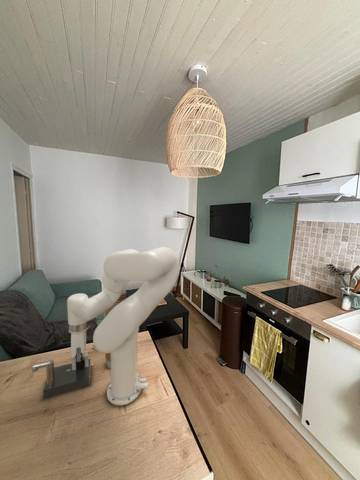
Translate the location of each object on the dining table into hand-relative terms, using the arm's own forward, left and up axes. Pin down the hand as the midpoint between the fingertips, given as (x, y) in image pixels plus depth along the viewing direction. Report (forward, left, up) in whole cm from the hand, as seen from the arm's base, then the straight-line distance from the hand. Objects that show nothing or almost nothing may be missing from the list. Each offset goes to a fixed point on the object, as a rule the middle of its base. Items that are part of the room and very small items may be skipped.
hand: (80, 366), depth 80 cm
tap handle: (0, 0, 0) cm, 0 cm away
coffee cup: (-12, -6, -4) cm, 14 cm away
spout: (+9, +9, 0) cm, 13 cm away
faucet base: (+3, +3, -4) cm, 6 cm away
